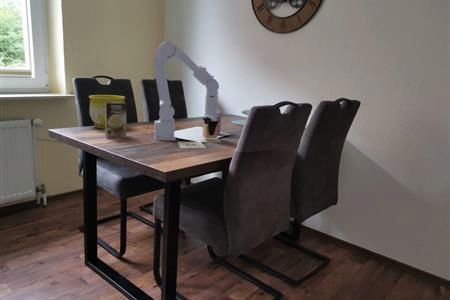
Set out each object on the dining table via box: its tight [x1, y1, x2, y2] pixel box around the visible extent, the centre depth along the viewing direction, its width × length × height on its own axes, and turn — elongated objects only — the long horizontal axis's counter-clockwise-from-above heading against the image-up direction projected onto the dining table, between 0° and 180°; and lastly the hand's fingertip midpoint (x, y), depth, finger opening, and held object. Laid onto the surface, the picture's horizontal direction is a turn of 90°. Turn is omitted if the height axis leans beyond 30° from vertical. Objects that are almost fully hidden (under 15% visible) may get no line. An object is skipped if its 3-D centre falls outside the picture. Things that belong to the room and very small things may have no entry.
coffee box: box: [104, 101, 127, 139], centre depth 158 cm, size 9×6×16 cm
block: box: [202, 123, 218, 139], centre depth 161 cm, size 6×6×6 cm
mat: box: [200, 138, 222, 143], centre depth 162 cm, size 9×9×1 cm
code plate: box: [177, 141, 207, 149], centre depth 150 cm, size 11×12×1 cm
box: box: [216, 110, 222, 135], centre depth 179 cm, size 10×6×12 cm, turn 168°
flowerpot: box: [88, 94, 126, 130], centre depth 181 cm, size 18×18×16 cm
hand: (209, 133), depth 161 cm, fingers closed on block, 5 cm apart
